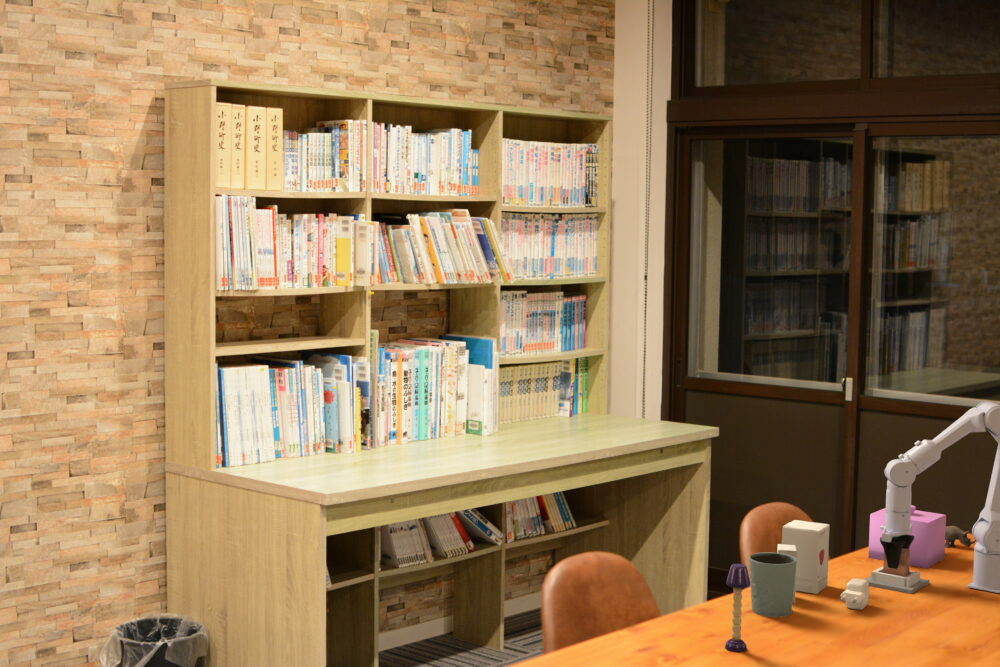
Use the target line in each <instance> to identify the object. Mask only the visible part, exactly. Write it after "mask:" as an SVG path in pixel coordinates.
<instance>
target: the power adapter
mask: <svg viewBox="0 0 1000 667" xmlns="http://www.w3.org/2000/svg"><path fill="white" fill-rule="evenodd" d="M864 579H865V578H864ZM864 579H862V578H856V577H853V578H851V579H850V580H849V581H848V582H847V584H846V587H845V588H846V589H845V590H844V591H842V592H841V594H840V596H839V597H840V601H841V602H844V601H845V605H846V608H848V609H853V610H859V611H862V610H863V609H865V608H866V606H868V603H869V593H870V592H869V590H870V588H869V587H870V586H869V582H868V581H867V580H864Z"/></svg>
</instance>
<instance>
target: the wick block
mask: <svg viewBox="0 0 1000 667" xmlns="http://www.w3.org/2000/svg"><path fill="white" fill-rule="evenodd" d="M882 566H883V573H886V574H892V575H897V576H902V577H905V576H907V575H909V571H910V567H911V565H910V550H909V549H903V548H902V551H901V555H900V561H899V565H898V568H897V569H893V568H888V564H887V559H886V555H885V551H884V561H883V564H882Z"/></svg>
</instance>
